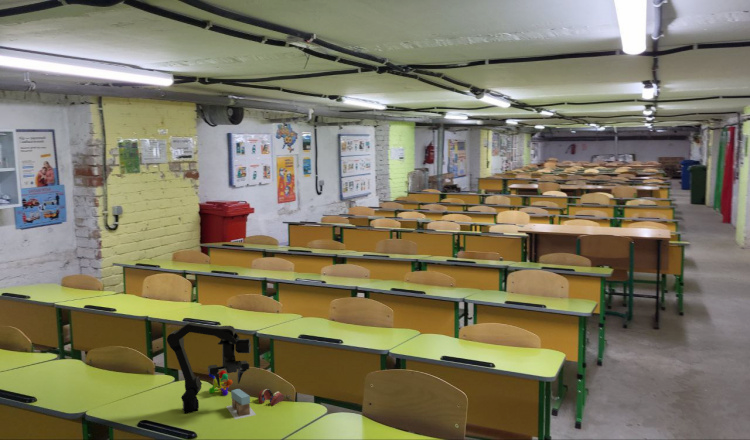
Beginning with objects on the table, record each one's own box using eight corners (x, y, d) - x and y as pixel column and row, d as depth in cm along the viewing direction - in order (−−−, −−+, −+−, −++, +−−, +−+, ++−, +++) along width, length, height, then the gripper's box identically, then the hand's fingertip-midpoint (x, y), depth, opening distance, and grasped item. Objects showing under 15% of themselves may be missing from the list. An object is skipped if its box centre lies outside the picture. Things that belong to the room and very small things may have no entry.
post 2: (239, 416, 274) (238, 406, 274) (236, 412, 278) (236, 402, 278) (249, 414, 276) (249, 403, 276) (246, 410, 281) (246, 400, 280)
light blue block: (249, 403, 277) (249, 395, 277) (241, 405, 275) (241, 398, 274) (239, 395, 286) (239, 388, 286) (231, 397, 284) (231, 390, 284)
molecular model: (207, 393, 304) (206, 371, 303) (216, 389, 310) (216, 367, 309) (224, 397, 299) (224, 375, 298) (234, 392, 305) (233, 371, 304)
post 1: (234, 410, 281) (234, 400, 281) (232, 406, 286) (231, 396, 285) (245, 408, 283) (244, 398, 283) (242, 404, 288) (242, 394, 287)
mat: (235, 419, 271) (235, 419, 271) (226, 407, 286) (226, 406, 286) (256, 415, 276) (256, 414, 276) (246, 403, 291) (246, 402, 291)
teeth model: (276, 394, 285) (255, 391, 290) (276, 407, 285) (256, 403, 291) (286, 389, 293) (266, 385, 298) (286, 401, 293) (266, 398, 298)
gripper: (212, 360, 270) (212, 393, 271) (252, 355, 278) (252, 387, 279) (207, 353, 280) (207, 385, 281) (246, 348, 288) (246, 379, 289)
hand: (228, 384), depth 282 cm, fingers open, 9 cm apart
